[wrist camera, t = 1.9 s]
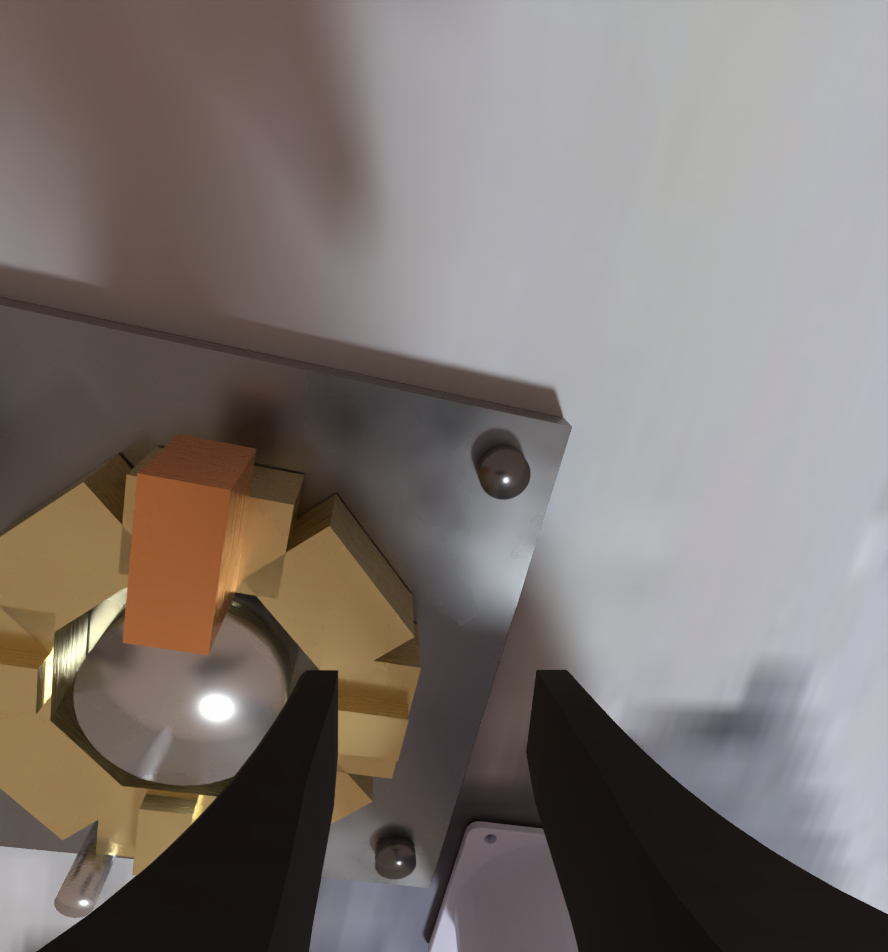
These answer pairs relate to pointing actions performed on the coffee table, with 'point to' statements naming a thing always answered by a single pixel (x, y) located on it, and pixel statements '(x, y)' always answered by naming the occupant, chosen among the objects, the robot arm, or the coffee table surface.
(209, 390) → the flange plate
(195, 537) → the gold blocky ring
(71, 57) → the coffee table surface
